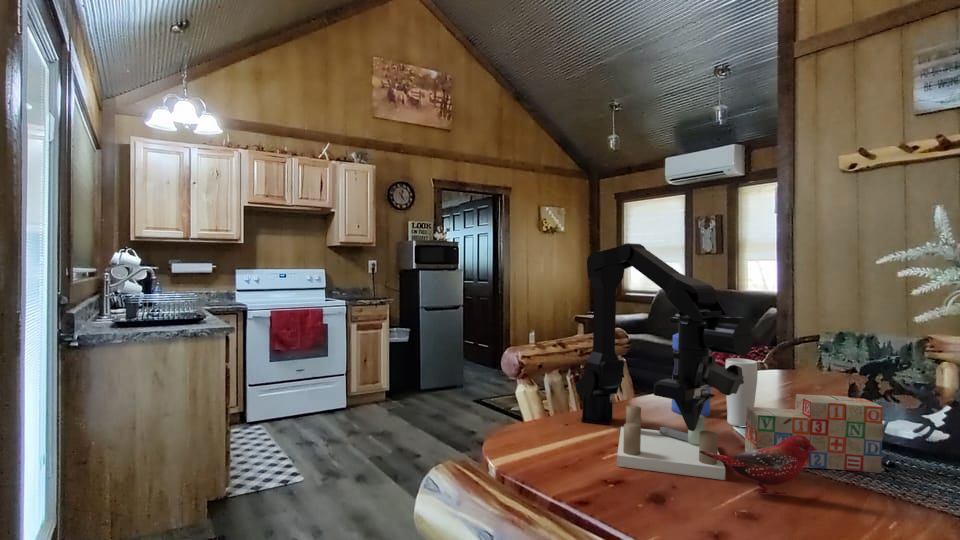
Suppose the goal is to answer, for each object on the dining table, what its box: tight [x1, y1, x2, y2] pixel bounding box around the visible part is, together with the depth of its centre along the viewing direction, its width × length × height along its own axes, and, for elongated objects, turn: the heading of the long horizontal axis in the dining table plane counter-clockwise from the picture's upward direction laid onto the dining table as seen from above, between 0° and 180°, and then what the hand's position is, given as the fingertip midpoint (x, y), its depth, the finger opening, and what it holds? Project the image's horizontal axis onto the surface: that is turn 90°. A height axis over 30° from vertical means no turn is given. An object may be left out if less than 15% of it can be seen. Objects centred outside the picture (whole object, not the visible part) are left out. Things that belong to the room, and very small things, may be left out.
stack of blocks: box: [744, 393, 884, 474], centre depth 100 cm, size 21×6×12 cm, turn 81°
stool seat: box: [616, 405, 726, 481], centre depth 102 cm, size 18×18×7 cm
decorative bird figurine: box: [699, 435, 817, 496], centre depth 86 cm, size 3×18×10 cm, turn 80°
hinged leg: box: [658, 415, 706, 444], centre depth 106 cm, size 9×3×5 cm, turn 39°
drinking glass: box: [724, 357, 759, 427], centre depth 123 cm, size 7×7×15 cm
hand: (691, 430), depth 101 cm, fingers closed
